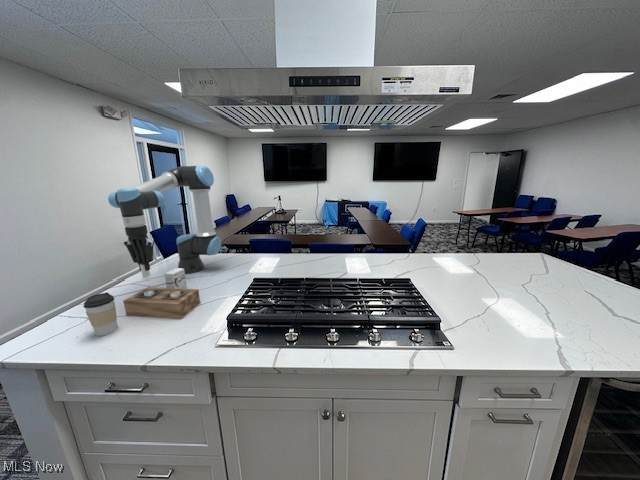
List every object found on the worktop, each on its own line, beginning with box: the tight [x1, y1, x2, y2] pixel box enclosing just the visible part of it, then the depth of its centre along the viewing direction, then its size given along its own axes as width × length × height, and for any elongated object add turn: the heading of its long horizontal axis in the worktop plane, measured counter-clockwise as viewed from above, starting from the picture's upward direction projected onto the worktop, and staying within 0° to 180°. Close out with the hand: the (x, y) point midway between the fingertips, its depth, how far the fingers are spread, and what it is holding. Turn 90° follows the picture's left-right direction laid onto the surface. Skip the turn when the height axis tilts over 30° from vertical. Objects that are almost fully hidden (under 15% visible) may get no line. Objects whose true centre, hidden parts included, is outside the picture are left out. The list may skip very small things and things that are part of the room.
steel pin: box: [144, 290, 155, 296], centre depth 114 cm, size 4×4×7 cm
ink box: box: [163, 267, 188, 289], centre depth 130 cm, size 9×5×12 cm, turn 168°
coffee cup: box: [83, 292, 119, 337], centre depth 97 cm, size 9×9×15 cm
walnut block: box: [122, 286, 201, 319], centre depth 113 cm, size 14×26×7 cm, turn 83°
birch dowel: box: [170, 291, 181, 297], centre depth 112 cm, size 4×4×7 cm
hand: (146, 276), depth 112 cm, fingers closed
